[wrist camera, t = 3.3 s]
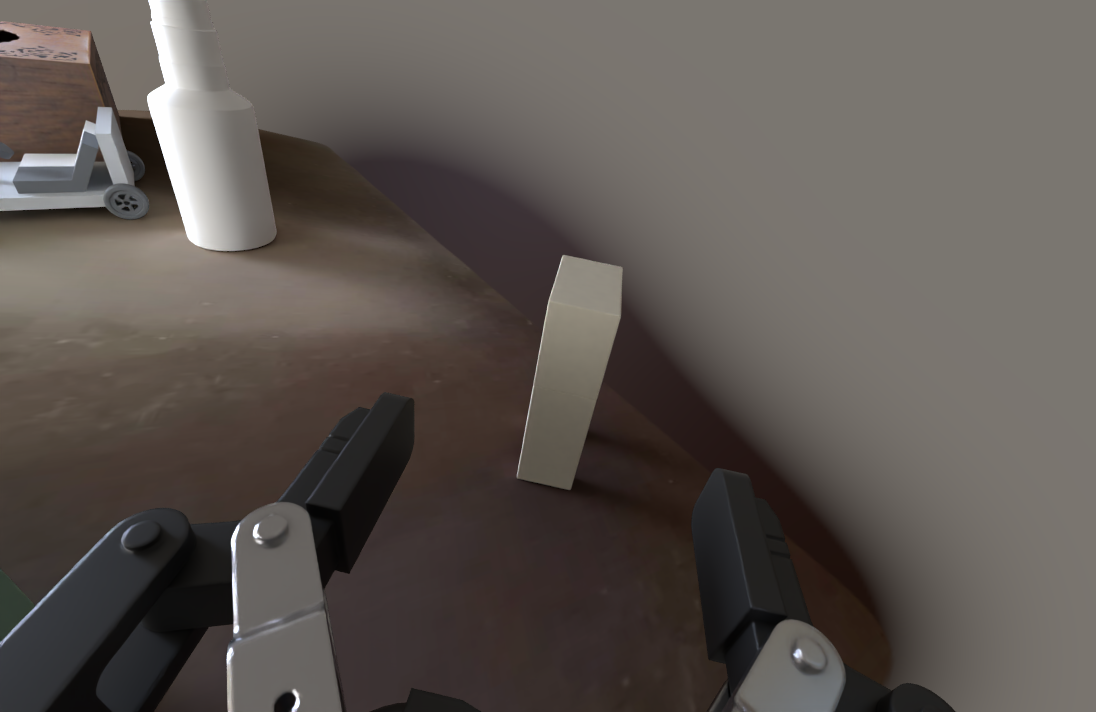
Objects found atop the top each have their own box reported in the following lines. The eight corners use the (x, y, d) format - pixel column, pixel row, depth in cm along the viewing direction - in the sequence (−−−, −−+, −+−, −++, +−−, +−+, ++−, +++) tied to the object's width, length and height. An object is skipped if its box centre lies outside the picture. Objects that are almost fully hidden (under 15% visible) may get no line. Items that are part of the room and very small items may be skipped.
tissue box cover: (-33, 110, 58) (-82, 12, 52) (119, 115, 66) (90, 31, 60) (-79, 174, 43) (-155, 44, 37) (127, 171, 51) (89, 63, 45)
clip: (532, 417, 29) (563, 254, 23) (578, 427, 29) (622, 266, 23) (516, 478, 25) (548, 300, 19) (570, 490, 25) (621, 316, 19)
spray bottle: (277, 222, 46) (236, -5, 36) (278, 251, 41) (231, -1, 31) (192, 222, 43) (122, -24, 33) (183, 254, 38) (97, -23, 28)
